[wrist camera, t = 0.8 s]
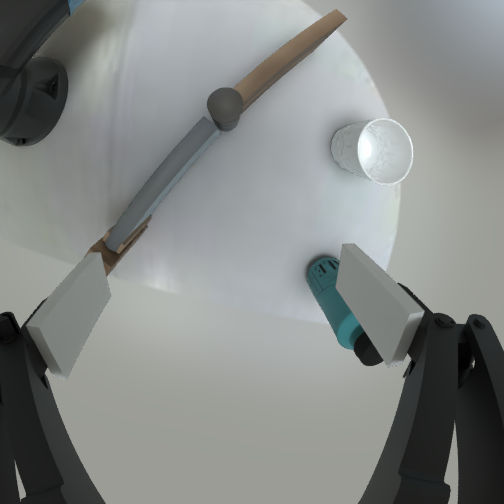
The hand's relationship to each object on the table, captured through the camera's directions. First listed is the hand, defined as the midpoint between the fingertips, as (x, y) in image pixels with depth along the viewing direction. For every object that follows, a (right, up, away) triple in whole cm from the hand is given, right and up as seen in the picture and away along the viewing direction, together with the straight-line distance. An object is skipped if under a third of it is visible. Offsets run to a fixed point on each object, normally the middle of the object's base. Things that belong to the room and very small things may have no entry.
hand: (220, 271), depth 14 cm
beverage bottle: (+13, -2, +28) cm, 31 cm away
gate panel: (-9, +11, +20) cm, 24 cm away
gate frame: (-3, +17, +19) cm, 26 cm away
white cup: (+16, +16, +22) cm, 31 cm away
